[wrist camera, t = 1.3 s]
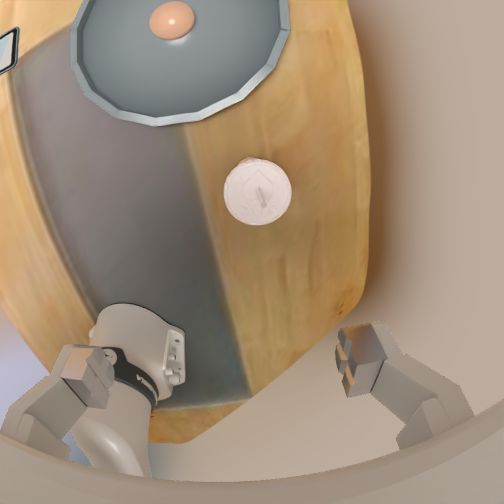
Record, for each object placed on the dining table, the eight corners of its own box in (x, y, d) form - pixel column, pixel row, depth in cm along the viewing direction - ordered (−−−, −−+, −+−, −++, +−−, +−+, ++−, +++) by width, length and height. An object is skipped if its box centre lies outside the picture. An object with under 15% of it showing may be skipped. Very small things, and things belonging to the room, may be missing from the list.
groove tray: (289, 114, 31) (294, 115, 29) (86, 140, 30) (77, 143, 28) (277, -56, 19) (281, -64, 16) (83, -24, 17) (76, -30, 15)
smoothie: (277, 146, 33) (306, 172, 21) (275, 195, 36) (300, 246, 24) (224, 146, 33) (221, 172, 20) (225, 196, 36) (223, 248, 24)
